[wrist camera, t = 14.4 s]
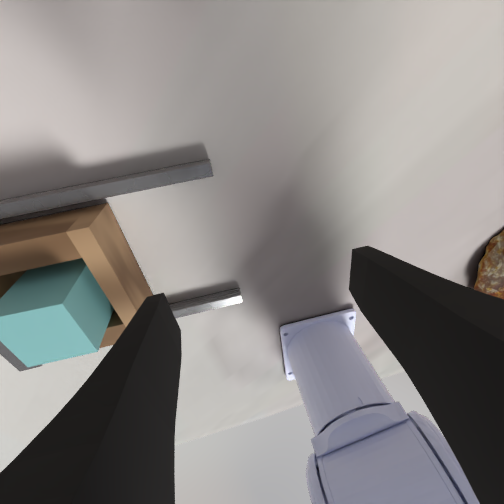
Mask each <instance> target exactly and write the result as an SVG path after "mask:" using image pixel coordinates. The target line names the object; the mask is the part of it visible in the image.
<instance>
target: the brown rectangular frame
mask: <svg viewBox="0 0 504 504" xmlns="http://www.w3.org/2000/svg"><path fill="white" fill-rule="evenodd" d="M80 258H83V260H84V262H85V263H86V265H87V266H88V268H89V270H90V271H91V273H92V274H93V276H94V278H95V279H96V281H97V282H98V284H99V285H100V287H101V289H102V290H103V292H104V293H105V295H106V297H107V298H108V300H109V301H110V303H111V304H112V306H113V308H114V310H113V313H112V315H111V318H110V321H109V323H108V326H107V329H106V331H105V334H104V336H103V339H102V342H101V344H100V347H99V348H102V347H106V346H110V345H114V344H115V342H116V341H117V340H118V338H119V337H120V335H121V334H122V332H123V331H124V330H125V328H126V327H127V325H128V324H129V322H130V321H131V319H132V318H133V316H134V315H135V313H136V312H137V310H138V309H139V307H140V306H141V304H142V303H143V302H144V300H145V299H146V297H148V296H152V295H153V294H152V292H151V290H150V288H149V286H148V284H147V282H146V280H145V278H144V276H143V274H142V272H141V270H140V268H139V265H138V263H137V261H136V259H135V257H134V255H133V253H132V251H131V249H130V247H129V245H128V243H127V241H126V239H125V237H124V235H123V233H122V231H121V229H120V227H119V225H118V223H117V221H116V219H115V217H114V215H113V213H112V211H111V209H110V206H109V204H108V203H104V204H100V205H95V206H90V207H85V208H80V209H75V210H70V211H65V212H60V213H55V214H51V215H46V216H41V217H36V218H31V219H26V220H21V221H16V222H11V223H6V224H2V225H0V299H1V297H2V296H3V295H4V294H5V293H6V292H7V291H8V290H9V289H10V288H11V287H12V286H13V285H14V284H15V282H16V281H17V280H18V279H19V278H20V277H21V276H22V275H23V274H24V273H25V272H26V271H27V270H29V269H34V268H38V267H43V266H47V265H52V264H57V263H61V262H66V261H70V260H75V259H80Z"/></svg>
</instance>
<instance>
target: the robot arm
mask: <svg viewBox="0 0 504 504" xmlns="http://www.w3.org/2000/svg"><path fill="white" fill-rule="evenodd" d="M349 290H350V292H351V294H352V296H353V298H354V300H355V301H356V303H357V305H358V307H359V308H360V310H361V312H362V313H363V314H364V316H365V317H366V319H367V320H368V321H369V323H370V324H371V325H372V327H373V328H374V329H375V331H376V332H377V333H378V335H379V336H380V337H381V339H382V340H383V341H384V343H385V344H386V345H387V347H388V348H389V349H390V351H391V352H392V353H393V355H394V356H395V357H396V359H397V360H398V361H399V363H400V364H401V366H402V367H403V368H404V370H405V371H406V373H407V374H408V376H409V378H410V379H411V381H412V382H413V384H414V386H415V387H416V389H417V391H418V392H419V394H420V395H421V397H422V399H423V400H424V402H425V404H426V405H427V407H428V409H429V410H430V412H431V414H432V416H433V417H434V419H435V421H436V423H437V424H438V426H439V428H440V430H441V431H442V433H443V435H444V436H443V435H442V434H441V433H440V431H439V430H438V429H437V427H436V426H435V425H434V424H433V423H432V422H431V421H430V420H429V419H428V418H427V417H426V416H423V415H421V414H418V413H417V412H416V411H411V412H409V413H407V414H406V412H405V410H404V409H403V407H402V406H401V404H400V403H399V402H395V401H394V399H393V398H392V397H391V395H390V393H389V392H388V390H387V388H386V387H385V385H384V383H383V382H382V380H381V379H380V377H379V376H378V374H377V372H376V371H375V369H374V368H373V366H372V365H371V363H370V361H369V360H368V358H367V357H366V355H365V353H364V352H363V350H362V349H361V347H360V346H359V344H358V342H357V341H356V339H355V338H354V329H355V320H356V311H355V310H354V309H347V310H343V311H339V312H335V313H331V314H327V315H323V316H319V317H315V318H311V319H307V320H303V321H299V322H295V323H291V324H287V325H283V326H282V327H281V328H280V336H281V343H282V351H283V358H284V366H285V373H286V378H287V380H294V379H296V382H297V385H298V387H299V390H300V393H301V396H302V399H303V402H304V405H305V408H306V411H307V414H308V417H309V420H310V423H311V425H312V428H313V431H314V434H315V437H314V438H312V439H311V442H312V445H313V448H314V451H315V453H312V454H310V455H309V457H308V464H307V468H306V478H307V485H308V490H309V494H310V498H311V502H312V504H504V299H501V298H498V297H495V296H492V295H489V294H486V293H482V292H479V291H477V290H474V289H471V288H468V287H465V286H463V285H460V284H457V283H455V282H452V281H450V280H447V279H444V278H442V277H439V276H437V275H435V274H432V273H430V272H427V271H425V270H423V269H420V268H418V267H416V266H413V265H411V264H409V263H407V262H404V261H402V260H400V259H398V258H395V257H393V256H391V255H389V254H386V253H384V252H382V251H379V250H377V249H375V248H372V247H369V246H364V247H360V248H356V249H352V259H351V271H350V283H349ZM180 367H181V330H180V328H179V325H178V323H177V321H176V319H175V317H174V315H173V312H172V310H171V308H170V306H169V304H168V301H167V299H166V297H165V295H164V293H161V294H157V295H152V296H148V297H146V299H145V300H144V302H143V303H142V304H141V306H140V307H139V309H138V310H137V312H136V313H135V315H134V316H133V318H132V319H131V321H130V322H129V324H128V325H127V327H126V328H125V330H124V331H123V332H122V334H121V335H120V337H119V338H118V340H117V341H116V342H115V344H114V345H113V347H112V348H111V349H110V351H109V352H108V353H107V355H106V356H105V357H104V359H103V360H102V361H101V363H100V364H99V365H98V366H97V368H96V369H95V370H94V372H93V373H92V374H91V376H90V377H89V378H88V379H87V381H86V382H85V383H84V384H83V385H82V387H81V388H80V389H79V390H78V391H77V393H76V394H75V395H74V396H73V397H72V398H71V400H70V401H69V402H68V403H67V404H66V405H65V406H64V407H63V409H62V410H61V411H60V412H59V413H58V414H57V415H56V416H55V418H54V419H53V420H52V421H51V422H50V423H49V424H48V425H47V426H46V427H45V428H44V429H43V430H42V431H41V432H40V433H39V434H38V435H37V436H36V437H35V438H34V439H33V440H32V442H31V443H30V444H29V445H28V446H27V447H26V448H25V449H24V450H23V451H22V452H21V453H20V454H19V455H18V456H17V457H16V458H15V459H14V460H13V461H12V462H11V463H10V464H9V465H8V466H7V467H6V468H5V469H4V470H3V471H2V472H1V473H0V504H175V488H174V487H175V486H174V485H175V484H174V436H175V419H176V409H177V399H178V389H179V378H180ZM444 437H445V438H444Z"/></svg>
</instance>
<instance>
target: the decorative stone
mask: <svg viewBox="0 0 504 504" xmlns="http://www.w3.org/2000/svg"><path fill="white" fill-rule="evenodd" d="M478 266H479V269H478V276H477V280H476V283H475V286H474V289H475V290H477V291H479V292H482V293H486V294H489V295H492V296H495V297H498V298H501V299H504V230H503V231H502V232H501V233H500V234H499V235H497V236H495V237H493V238H492V239H491V240H490V242H489V243H488V245H487V247H486V253H485V255H484V257H483V258H482V259H481V261H480V263H479V265H478Z"/></svg>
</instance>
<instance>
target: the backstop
mask: <svg viewBox="0 0 504 504" xmlns="http://www.w3.org/2000/svg"><path fill="white" fill-rule="evenodd" d="M211 176H213V172H212V168H211V164H210V159H208V160H203V161H198V162H193V163H188V164H183V165H177V166H172V167H167V168H162V169H157V170H152V171H147V172H142V173H137V174H132V175H127V176H122V177H117V178H112V179H107V180H102V181H97V182H92V183H87V184H81V185H76V186H71V187H66V188H61V189H56V190H51V191H46V192H41V193H36V194H31V195H26V196H21V197H16V198H11V199H6V200H1V201H0V219H3V218H8V217H13V216H18V215H23V214H28V213H33V212H38V211H43V210H48V209H53V208H58V207H63V206H67V205H72V204H77V203H82V202H87V201H92V200H97V199H102V198H107V197H112V196H117V195H122V194H127V193H132V192H137V191H142V190H146V189H151V188H156V187H161V186H166V185H171V184H176V183H181V182H186V181H191V180H196V179H201V178H206V177H211ZM241 302H242V297H241V293H240V288H236V289H232V290H228V291H224V292H219V293H215V294H211V295H206V296H202V297H198V298H194V299H189V300H185V301H181V302H177V303H172V304H169V306H170V308H171V310H172V312H173V315H174V317H175V318H179V317H183V316H187V315H191V314H195V313H200V312H204V311H208V310H212V309H216V308H221V307H225V306H229V305H233V304H237V303H241ZM0 354H1V355H2V356H3V357H4V358H5V359H6V360H8V361H9V362H10V363H11V364H12V365H13V366H14V367H15V368H17V369H18V370H19V371H23V370H27V369H32V368H36V367H40V366H42V364H41V365H36V366H32V367H27V366H26V365H25V364H24V363H23V362H22V361H21V360H20V359H18V358H17V357H16V356H15V355H14V354H13V353H12V352H11V351H10V350H9V349H8V348H7V347H6V346H5V345H4V344H3V343H2V342H1V341H0Z"/></svg>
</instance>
